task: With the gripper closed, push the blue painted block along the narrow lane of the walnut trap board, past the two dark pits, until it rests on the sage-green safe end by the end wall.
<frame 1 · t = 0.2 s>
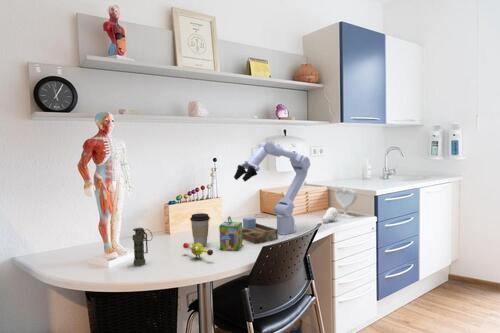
hand: (239, 179, 170), 31 cm above the table, tool tilted 45°, fingers open, 7 cm apart
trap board: (253, 236, 180), on the table
toy figure: (197, 259, 147), on the table
penguin figurine: (328, 222, 211), on the table
coffee cup: (200, 245, 166), on the table
heart sculpture: (345, 216, 228), on the table
block: (249, 227, 188), point 3 cm above the table, touching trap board
grenade: (142, 264, 141), on the table
green printed box: (231, 248, 162), on the table
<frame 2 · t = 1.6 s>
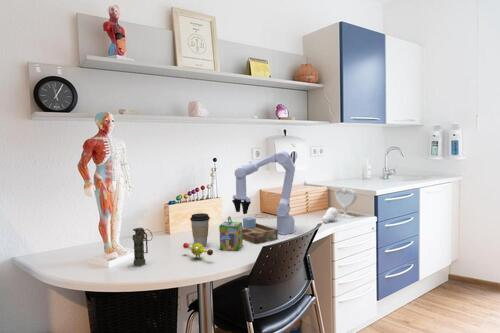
hand: (241, 212, 193), 10 cm above the table, tool pointing down, fingers open, 6 cm apart
nothing on the table moved.
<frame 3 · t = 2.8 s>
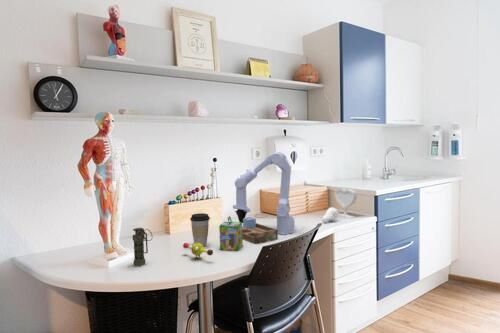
hand: (241, 222, 194), 4 cm above the table, tool pointing down, fingers closed
nothing on the table moved.
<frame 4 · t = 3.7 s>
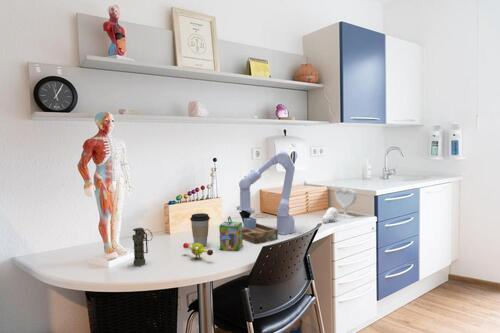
hand: (245, 224, 191), 4 cm above the table, tool pointing down, fingers closed
block: (249, 227, 187), point 3 cm above the table, touching gripper
everything else where it was.
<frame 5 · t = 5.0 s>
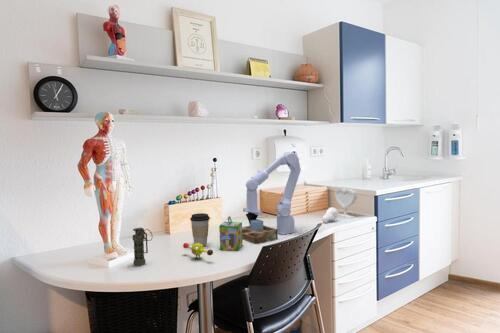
hand: (252, 226, 186), 4 cm above the table, tool pointing down, fingers closed
block: (256, 229, 182), point 3 cm above the table, touching gripper, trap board
everything else where it was.
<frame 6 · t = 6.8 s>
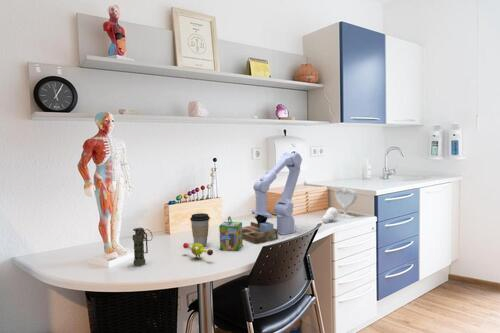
hand: (261, 229, 179), 4 cm above the table, tool pointing down, fingers closed
block: (266, 233, 175), point 3 cm above the table, touching gripper, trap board
everything else where it was.
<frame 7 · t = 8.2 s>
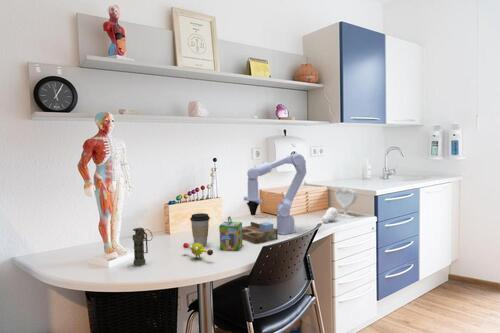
hand: (253, 215, 187), 10 cm above the table, tool pointing down, fingers closed
block: (266, 233, 175), point 3 cm above the table, touching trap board
everything else where it was.
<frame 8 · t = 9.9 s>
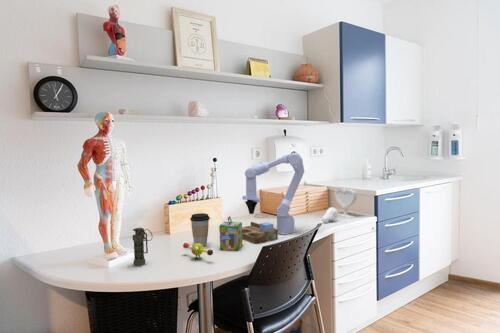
hand: (251, 213, 191), 10 cm above the table, tool pointing down, fingers closed
nothing on the table moved.
at the end: block inside the target area on the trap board (0.4 cm from its centre), point 3.0 cm above the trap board's base; block tilted 0° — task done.
